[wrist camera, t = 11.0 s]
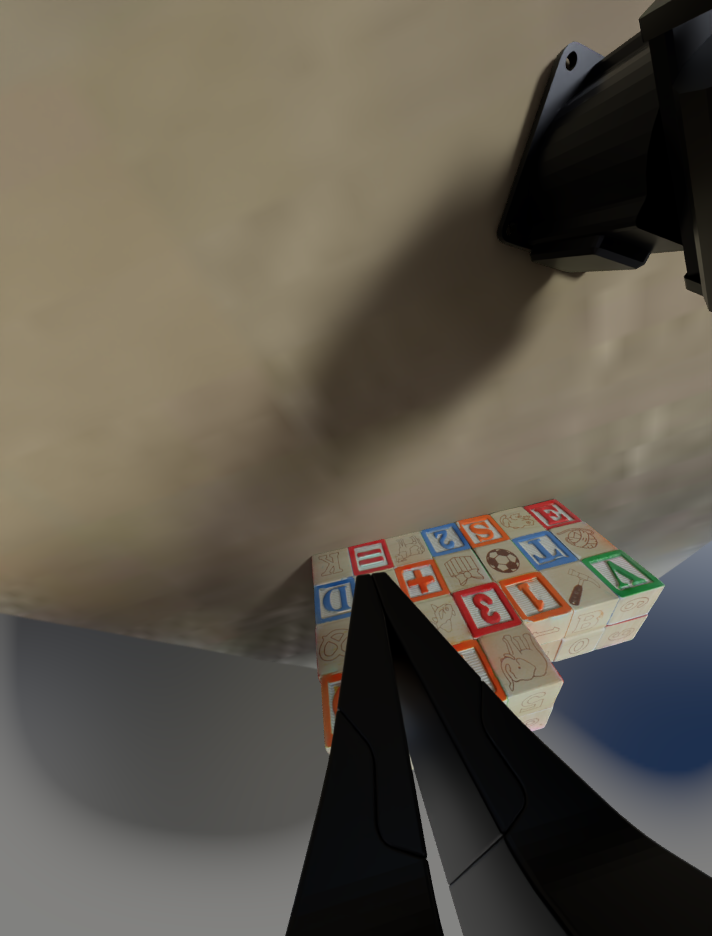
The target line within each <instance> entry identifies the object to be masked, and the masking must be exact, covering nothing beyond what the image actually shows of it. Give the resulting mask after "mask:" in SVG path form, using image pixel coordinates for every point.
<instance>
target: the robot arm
mask: <svg viewBox="0 0 712 936" xmlns="http://www.w3.org/2000/svg"><path fill="white" fill-rule="evenodd" d="M639 23H640V29H641V31H640V32H639V33H637V34H636V35H635V36H633V37H632V38H630V39H629V40H628V41H626V42H625V43H624V44H622V45H621V46H619V47H618V48H617V49H615V50H614V51H613V52H611V53H610V54H608V55H607V56H606V57H604V56H602V55H600V54H598V53H596V52H595V51H593V50H591V49H589V48H588V47H586V46H584V45H582V44H580V43H579V42H572V43H570V44H569V45H567V46H566V47H565V48H564V49H563V50H562V51H561V52H560V53H559V54H558V55H557V57H556V59H555V61H554V64H553V67H552V70H551V73H550V76H549V79H548V82H547V85H546V88H545V91H544V94H543V97H542V100H541V103H540V106H539V109H538V111H537V114H536V117H535V120H534V123H533V126H532V129H531V132H530V135H529V138H528V141H527V144H526V147H525V150H524V153H523V156H522V159H521V162H520V165H519V168H518V171H517V174H516V176H515V179H514V182H513V185H512V188H511V191H510V194H509V197H508V200H507V203H506V206H505V209H504V212H503V215H502V218H501V221H500V224H499V227H498V231H497V236H498V239H499V241H500V242H502V243H504V244H507V245H510V246H513V247H517V248H520V249H523V250H526V251H529V252H531V253H530V258H531V260H532V261H533V262H536V263H539V264H542V265H546V266H549V267H552V268H555V269H558V270H562V271H565V272H589V271H610V270H631V269H637V268H639V267H641V266H643V265H644V264H645V263H646V261H647V259H648V257H649V255H650V254H651V253H662V252H674V251H684V256H685V262H686V268H687V273H686V274H685V276H684V280H685V285H686V289H687V290H689V291H692V292H694V293H697V294H699V295H702V296H703V297H704V299H705V302H706V304H707V307H708V309H709V311H711V312H712V0H655V1H654V3H653V4H652V5H651V6H650V7H649V8H648V9H647V10H646V11H645V12H644V13H643V14H642V15H641V17H640V18H639ZM566 58H568V59H569V62H570V67H569V70H567V69H566V65H565V63H566ZM508 225H510V226H511V233H510V235H507V232H506V231H507V227H508ZM409 754H410V755H409ZM410 758H411V761H412V764H413V768H414V771H415V774H416V778H417V781H418V784H419V788H420V791H421V794H422V798H423V801H424V805H425V808H426V811H427V815H428V818H429V821H430V825H431V828H432V831H433V835H434V838H435V841H436V845H437V848H438V851H439V854H440V858H441V862H442V865H443V868H444V872H445V875H446V878H447V882H448V884H449V885H450V886H449V888H450V892H451V895H452V899H453V902H454V906H455V909H456V912H457V915H458V919H459V922H460V926H461V929H462V932H463V935H464V936H712V877H710V876H708V875H707V874H705V873H704V872H702V871H700V870H699V869H697V868H696V867H694V866H692V865H691V864H689V863H688V862H686V861H684V860H683V859H681V858H679V857H678V856H676V855H675V854H673V853H671V852H670V851H668V850H667V849H665V848H664V847H662V846H661V845H659V844H658V843H656V842H655V841H653V840H652V839H651V838H649V837H648V836H646V835H645V834H644V833H642V832H641V831H640V830H639V829H637V828H636V827H635V826H633V825H632V824H631V823H630V822H628V821H627V820H626V819H625V818H624V817H623V816H621V815H620V814H619V813H618V812H617V811H616V810H615V809H613V808H612V807H611V806H610V805H609V804H608V803H607V802H606V801H605V800H604V799H603V798H601V796H599V795H598V794H597V793H596V792H595V791H594V790H593V789H592V788H591V787H590V786H589V785H588V784H587V783H586V782H585V781H584V780H583V779H582V778H580V777H579V776H578V775H577V774H576V773H575V772H574V771H573V770H572V769H571V768H570V767H569V766H568V765H567V764H566V763H565V762H564V761H562V760H561V759H560V758H559V757H558V756H557V755H556V754H555V753H554V752H553V751H552V750H551V749H549V747H548V746H547V745H545V744H544V743H543V742H542V741H541V740H540V739H539V738H538V737H537V736H536V735H535V734H534V733H533V732H532V731H531V730H530V729H529V728H528V727H527V726H526V725H525V724H524V723H523V722H522V721H521V720H520V719H519V718H518V717H517V716H516V715H515V714H514V713H513V712H512V711H511V710H510V709H509V708H508V707H507V705H506V704H505V703H504V702H503V701H502V700H501V699H500V698H499V697H498V696H497V695H496V694H495V693H494V691H493V690H492V689H491V688H490V687H489V686H488V685H487V684H486V683H485V681H481V677H480V676H479V675H478V674H477V673H476V672H475V671H474V669H473V668H472V667H471V666H470V665H469V664H468V663H467V662H466V661H465V659H464V658H463V657H462V656H461V655H460V654H459V653H458V652H457V651H456V649H455V648H454V647H453V646H452V645H451V644H450V643H449V642H448V641H447V639H446V638H445V637H444V636H443V635H442V634H441V633H440V632H439V631H438V630H437V628H436V627H435V626H434V625H433V624H432V623H431V622H430V621H429V620H428V618H427V617H426V616H425V615H424V614H423V613H422V612H421V611H420V610H419V608H418V607H417V606H416V605H415V604H414V603H413V602H412V601H411V600H410V598H409V597H408V596H407V595H406V594H405V593H404V592H403V591H402V590H401V588H400V587H399V586H398V585H397V584H396V583H395V582H394V581H393V580H392V579H391V577H390V576H389V575H388V574H387V573H386V572H377V573H372V574H371V575H370V574H362V575H357V577H356V581H355V588H354V595H353V602H352V609H351V616H350V623H349V630H348V637H347V643H346V650H345V657H344V664H343V671H342V678H341V685H340V692H339V699H338V705H337V712H336V718H335V725H334V732H333V738H332V743H331V749H330V755H329V761H328V766H327V770H326V775H325V779H324V784H323V788H322V792H321V797H320V801H319V805H318V809H317V813H316V817H315V821H314V825H313V829H312V833H311V837H310V841H309V845H308V849H307V853H306V857H305V861H304V865H303V869H302V873H301V877H300V880H299V884H298V888H297V893H296V896H295V901H294V905H293V908H292V912H291V916H290V920H289V924H288V927H287V931H286V935H285V936H444V934H443V930H442V926H441V923H440V918H439V914H438V909H437V904H436V900H435V895H434V890H433V885H432V880H431V875H430V869H429V864H428V861H427V860H426V858H427V852H426V847H425V841H424V835H423V829H422V823H421V819H420V812H419V806H418V800H417V795H416V789H415V783H414V778H413V772H412V766H411V761H410Z"/></svg>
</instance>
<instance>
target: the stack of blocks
mask: <svg viewBox="0 0 712 936" xmlns="http://www.w3.org/2000/svg"><path fill="white" fill-rule="evenodd" d="M312 571H313V585H314V601H315V622H316V628H315V635H316V654H317V668H318V679H319V681H320V683H321V690H322V706H323V722H324V736H325V737H324V738H325V747H326V750H327V752H328V754H329V755H330V749H331V743H332V738H333V732H334V725H335V718H336V712H337V705H338V699H339V692H340V685H341V678H342V671H343V664H344V657H345V650H346V643H347V637H348V630H349V623H350V616H351V609H352V602H353V595H354V588H355V581H356V577H357V575H362V574H370V575H371V574H372V573H377V572H386V573H387V574H388V575H389V576H390V577H391V579H392V580H393V581H394V582H395V583H396V584H397V585H398V586H399V587H400V588H401V590H402V591H403V592H404V593H405V594H406V595H407V596H408V597H409V598H410V600H411V601H412V602H413V603H414V604H415V605H416V606H417V607H418V608H419V610H420V611H421V612H422V613H423V614H424V615H425V616H426V617H427V618H428V620H429V621H430V622H431V623H432V624H433V625H434V626H435V627H436V628H437V630H438V631H439V632H440V633H441V634H442V635H443V636H444V637H445V638H446V639H447V641H448V642H449V643H450V644H451V645H452V646H453V647H454V648H455V649H456V651H457V652H458V653H459V654H460V655H461V656H462V657H463V658H464V659H465V661H466V662H467V663H468V664H469V665H470V666H471V667H472V668H473V669H474V671H475V672H476V673H477V674H478V675H479V676H480V677H481V681H485V683H486V684H487V685H488V686H489V687H490V688H491V689H492V690H493V691H494V693H495V694H496V695H497V696H498V697H499V698H500V699H501V700H502V701H503V702H504V703H505V704H506V705H507V707H508V708H509V709H510V710H511V711H512V712H513V713H514V714H515V715H516V716H517V717H518V718H519V719H520V720H521V721H522V722H523V723H524V724H525V725H526V726H527V727H528V728H529V729H530V730H531V731H534V730H537V729H541V728H544V727H545V725H546V723H547V720H548V718H549V715H550V713H551V711H552V708H553V704H554V701H555V699H556V697H557V695H558V693H559V690H560V689H561V687H562V685H563V682H564V681H563V679H562V677H561V676H560V674H559V673H558V671H557V670H556V668H555V667H554V666H553V664H552V663H551V662H552V661H559V660H563V659H566V658H570V657H573V656H577V655H580V654H584V653H587V652H591V651H593V650H594V649H600V648H604V647H608V646H611V645H615V644H619V643H622V642H625V641H629V640H632V639H633V638H634V636H635V635H636V633H637V632H638V630H639V628H640V627H641V625H642V624H643V622H644V621H645V619H646V618H647V616H648V615H647V613H648V612H649V611H650V609H651V607H652V606H653V604H654V602H655V601H656V599H657V598H658V596H659V595H660V593H661V591H662V590H663V588H664V586H665V585H664V584H663V583H662V582H661V581H660V580H658V579H657V578H656V577H655V576H653V575H652V574H651V573H650V572H648V571H647V570H646V569H645V568H643V567H642V566H641V565H640V564H638V563H637V562H636V561H635V560H633V559H632V558H631V557H630V556H628V555H627V554H626V553H625V552H623V551H622V550H618V549H617V548H616V547H615V546H613V545H612V544H611V543H610V542H609V541H608V540H606V539H605V538H604V537H603V536H601V535H600V534H599V533H598V532H596V531H595V530H594V529H593V528H591V527H590V526H589V525H588V524H587V523H585V522H582V521H581V520H580V519H579V518H578V517H577V516H576V515H574V514H573V513H572V512H571V511H570V510H569V509H567V508H566V507H565V506H564V505H562V504H561V503H560V502H558V501H557V500H556V499H553V500H549V501H545V502H541V503H537V504H533V505H529V506H525V507H523V508H522V507H517V508H512V509H508V510H504V511H499V512H495V513H492V514H490V515H483V516H478V517H474V518H470V519H465V520H461V521H457V522H455V523H451V524H447V525H443V526H438V527H434V528H430V529H426V530H422V531H420V532H414V533H410V534H406V535H401V536H397V537H393V538H389V539H382V540H378V541H373V542H369V543H365V544H361V545H356V546H352V547H348V548H343V549H338V550H334V551H330V552H326V553H321V554H317V555H313V556H312ZM409 755H410V754H409ZM410 761H411V758H410ZM411 766H412V770H413V769H414V768H413V764H412V761H411Z"/></svg>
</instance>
